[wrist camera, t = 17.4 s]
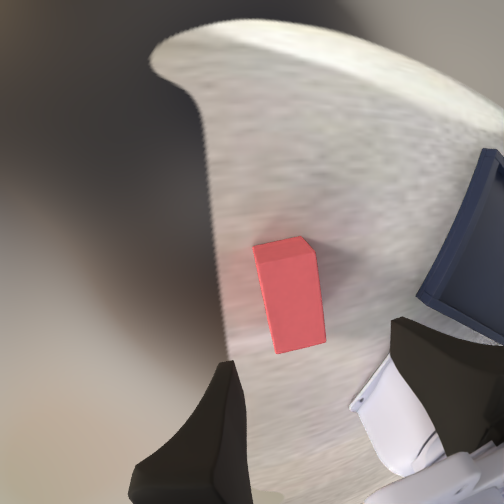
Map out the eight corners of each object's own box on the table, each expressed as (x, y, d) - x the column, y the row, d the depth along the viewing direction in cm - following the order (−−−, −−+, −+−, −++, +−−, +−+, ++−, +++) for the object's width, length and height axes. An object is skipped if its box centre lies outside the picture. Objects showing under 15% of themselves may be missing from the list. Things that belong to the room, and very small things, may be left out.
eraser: (313, 316, 22) (326, 342, 18) (269, 326, 21) (276, 355, 18) (301, 235, 20) (315, 251, 16) (252, 246, 20) (256, 264, 16)
